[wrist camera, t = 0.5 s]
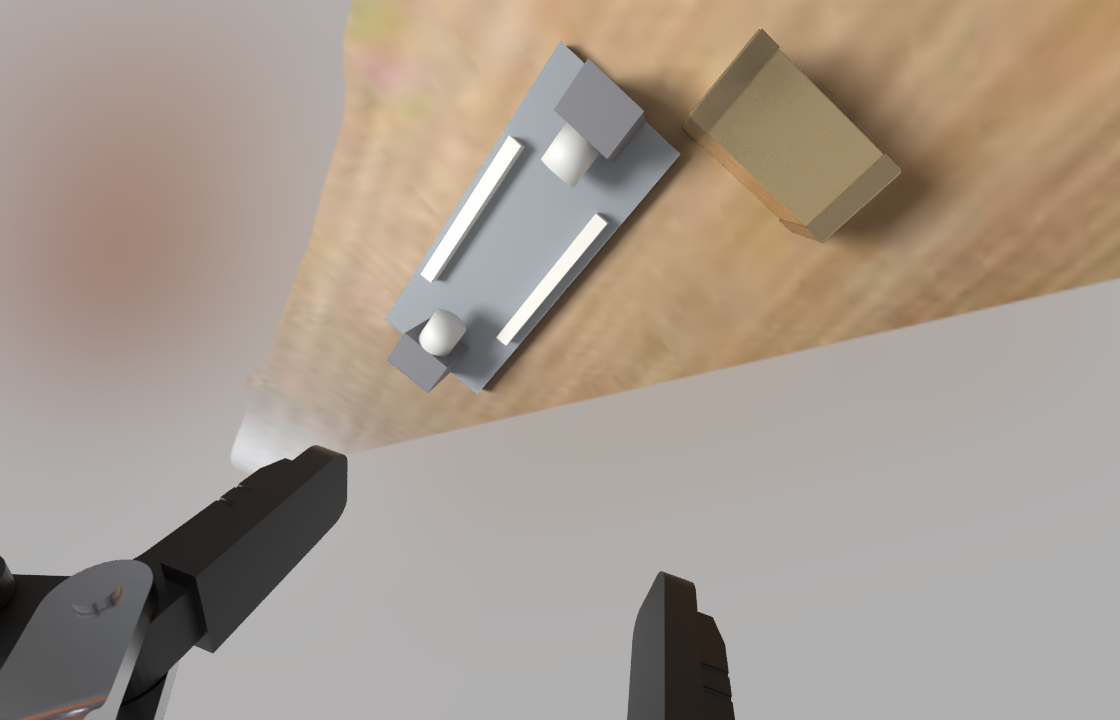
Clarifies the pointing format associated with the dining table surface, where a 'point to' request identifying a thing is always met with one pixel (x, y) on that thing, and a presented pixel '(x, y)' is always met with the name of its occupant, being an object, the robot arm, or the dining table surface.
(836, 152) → the tan tapered block
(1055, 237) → the dining table surface
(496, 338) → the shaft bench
